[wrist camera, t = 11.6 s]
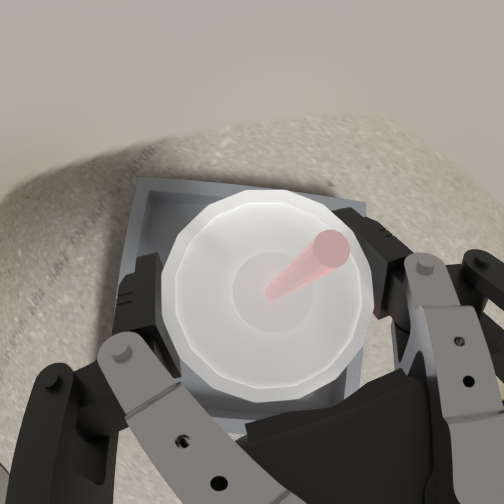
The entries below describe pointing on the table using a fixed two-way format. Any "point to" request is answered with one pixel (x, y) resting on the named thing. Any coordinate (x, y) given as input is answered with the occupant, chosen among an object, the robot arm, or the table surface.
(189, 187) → the tray
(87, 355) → the table surface
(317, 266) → the beverage cup
